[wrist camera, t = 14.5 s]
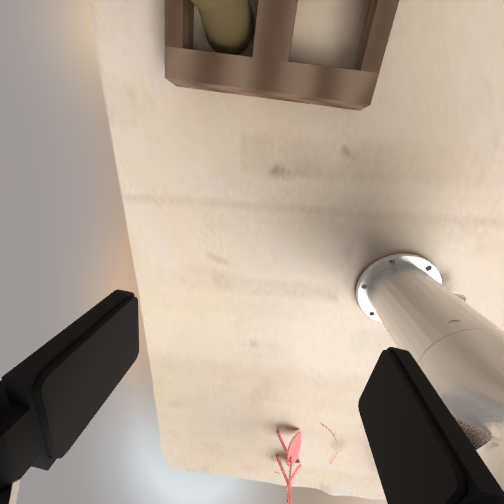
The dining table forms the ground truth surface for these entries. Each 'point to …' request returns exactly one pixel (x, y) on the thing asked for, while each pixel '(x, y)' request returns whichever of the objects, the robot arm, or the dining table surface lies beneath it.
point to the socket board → (276, 58)
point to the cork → (227, 24)
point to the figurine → (292, 460)
